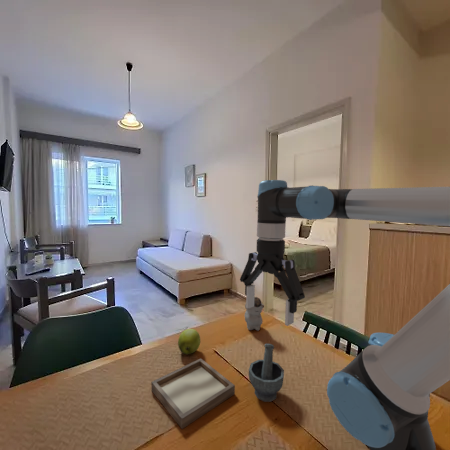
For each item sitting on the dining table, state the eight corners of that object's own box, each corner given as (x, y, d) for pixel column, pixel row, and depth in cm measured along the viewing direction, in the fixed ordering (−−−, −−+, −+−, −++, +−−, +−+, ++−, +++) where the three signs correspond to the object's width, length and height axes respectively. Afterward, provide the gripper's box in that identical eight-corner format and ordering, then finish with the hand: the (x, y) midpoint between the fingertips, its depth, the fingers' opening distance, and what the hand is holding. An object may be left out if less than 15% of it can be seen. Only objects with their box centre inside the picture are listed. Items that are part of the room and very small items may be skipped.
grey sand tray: (234, 394, 70) (234, 385, 70) (181, 429, 59) (182, 418, 59) (200, 365, 82) (200, 358, 82) (151, 390, 71) (151, 381, 71)
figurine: (240, 333, 104) (241, 297, 103) (248, 322, 113) (248, 290, 112) (261, 337, 101) (262, 301, 99) (267, 326, 110) (268, 293, 109)
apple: (201, 345, 94) (201, 324, 94) (198, 360, 85) (198, 337, 85) (180, 344, 95) (181, 323, 94) (175, 359, 86) (175, 336, 85)
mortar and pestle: (281, 411, 65) (283, 366, 64) (245, 402, 68) (246, 359, 67) (284, 382, 76) (285, 343, 75) (253, 375, 78) (254, 338, 77)
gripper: (321, 243, 61) (317, 327, 63) (246, 233, 80) (245, 298, 82) (304, 246, 56) (300, 337, 58) (229, 234, 75) (227, 304, 77)
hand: (268, 315), depth 70 cm, fingers open, 13 cm apart
